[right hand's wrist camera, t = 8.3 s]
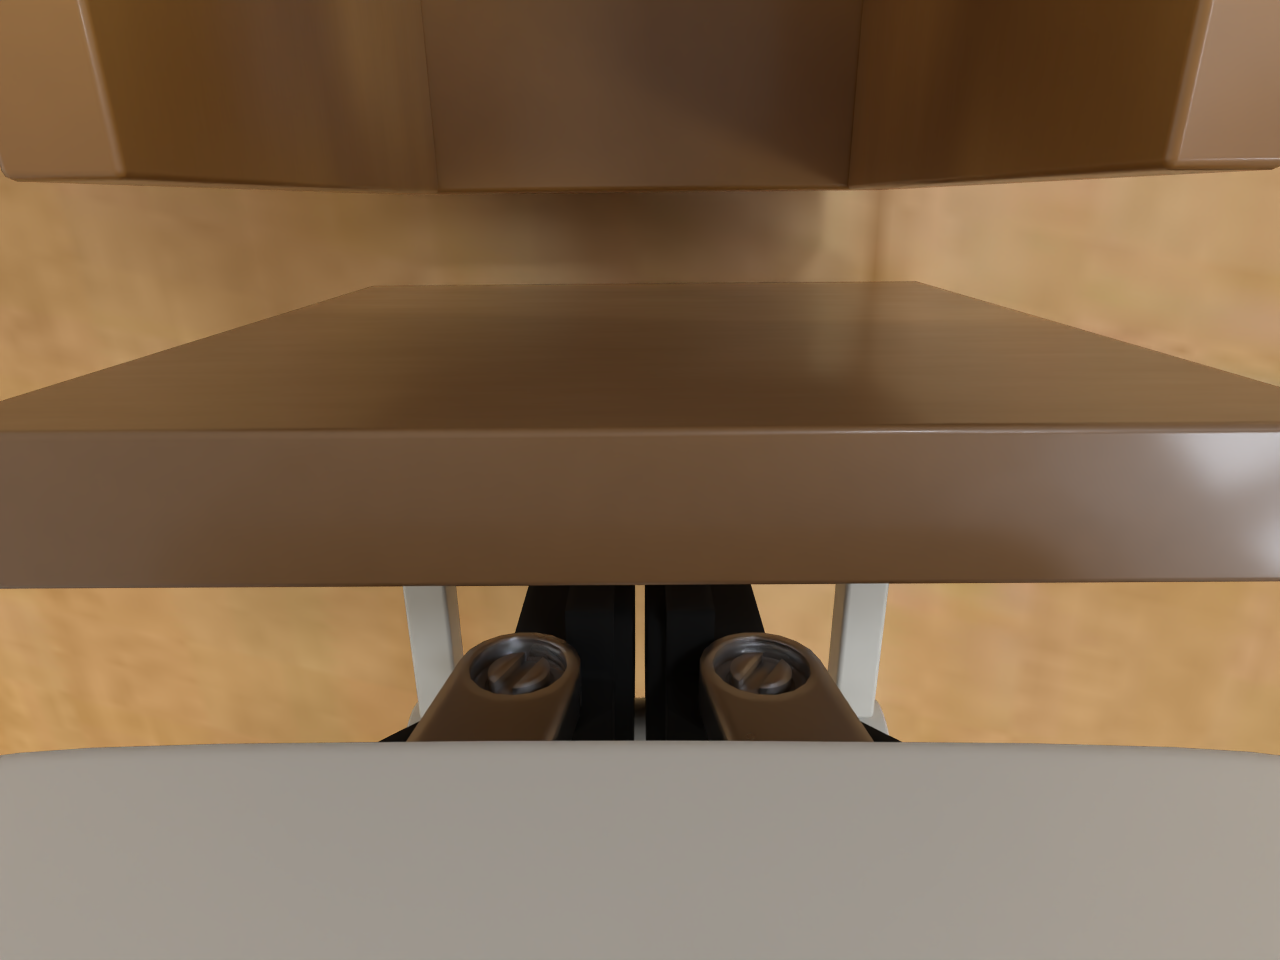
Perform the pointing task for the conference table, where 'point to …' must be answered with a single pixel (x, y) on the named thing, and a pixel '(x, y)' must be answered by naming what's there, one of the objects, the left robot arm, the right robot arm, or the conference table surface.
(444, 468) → the drawer
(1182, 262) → the conference table surface
